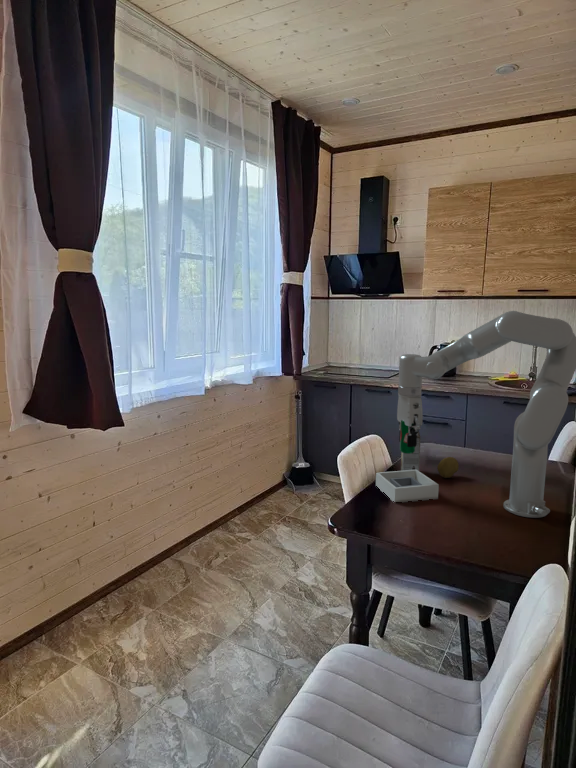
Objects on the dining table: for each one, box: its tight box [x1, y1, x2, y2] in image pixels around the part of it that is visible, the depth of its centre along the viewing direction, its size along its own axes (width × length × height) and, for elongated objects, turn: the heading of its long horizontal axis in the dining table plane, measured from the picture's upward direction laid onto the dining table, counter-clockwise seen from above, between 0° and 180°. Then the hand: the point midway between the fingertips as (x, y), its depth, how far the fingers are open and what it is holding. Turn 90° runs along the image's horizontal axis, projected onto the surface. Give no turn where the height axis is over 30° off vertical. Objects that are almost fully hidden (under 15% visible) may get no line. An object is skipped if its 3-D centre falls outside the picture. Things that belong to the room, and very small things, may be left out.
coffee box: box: [400, 430, 422, 472], centre depth 186 cm, size 9×6×16 cm
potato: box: [437, 456, 460, 479], centre depth 182 cm, size 7×8×8 cm
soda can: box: [399, 420, 415, 454], centre depth 165 cm, size 5×5×12 cm
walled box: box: [375, 470, 440, 503], centre depth 168 cm, size 16×16×5 cm
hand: (407, 443), depth 166 cm, fingers closed on soda can, 5 cm apart
